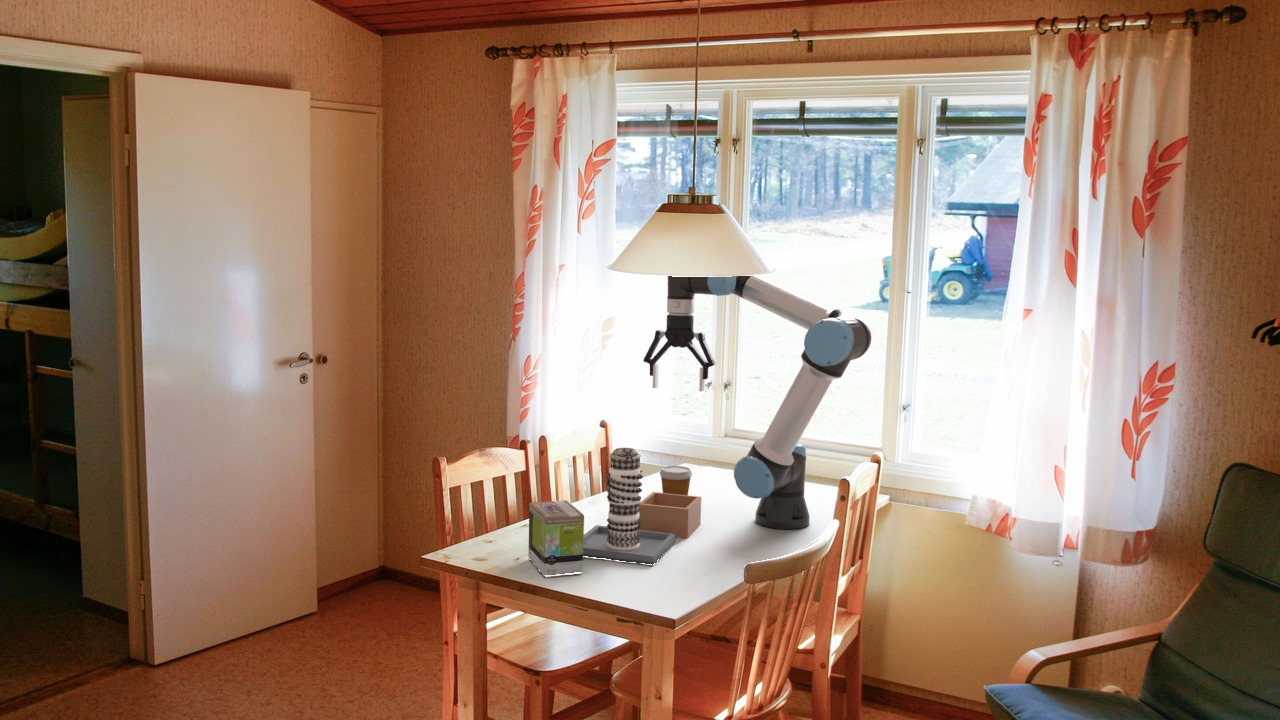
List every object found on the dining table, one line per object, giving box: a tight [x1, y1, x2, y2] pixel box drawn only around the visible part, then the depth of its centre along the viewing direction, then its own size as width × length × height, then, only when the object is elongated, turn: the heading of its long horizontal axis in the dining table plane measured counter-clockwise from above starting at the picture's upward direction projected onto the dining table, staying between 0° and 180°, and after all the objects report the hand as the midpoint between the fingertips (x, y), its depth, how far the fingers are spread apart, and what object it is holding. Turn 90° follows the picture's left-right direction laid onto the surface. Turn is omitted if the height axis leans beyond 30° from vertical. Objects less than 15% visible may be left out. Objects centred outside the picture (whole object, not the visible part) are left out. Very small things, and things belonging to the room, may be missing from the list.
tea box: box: [528, 499, 585, 575], centre depth 250 cm, size 15×10×15 cm, turn 21°
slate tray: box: [583, 524, 676, 565], centre depth 266 cm, size 22×20×2 cm
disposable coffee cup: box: [659, 465, 693, 495], centre depth 304 cm, size 10×10×12 cm
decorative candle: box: [606, 447, 644, 551], centre depth 264 cm, size 9×9×25 cm
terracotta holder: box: [638, 491, 702, 539], centre depth 284 cm, size 14×14×8 cm
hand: (678, 389), depth 293 cm, fingers open, 13 cm apart
